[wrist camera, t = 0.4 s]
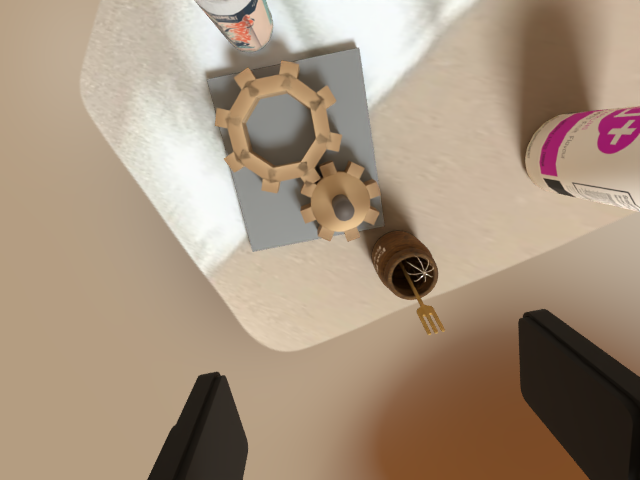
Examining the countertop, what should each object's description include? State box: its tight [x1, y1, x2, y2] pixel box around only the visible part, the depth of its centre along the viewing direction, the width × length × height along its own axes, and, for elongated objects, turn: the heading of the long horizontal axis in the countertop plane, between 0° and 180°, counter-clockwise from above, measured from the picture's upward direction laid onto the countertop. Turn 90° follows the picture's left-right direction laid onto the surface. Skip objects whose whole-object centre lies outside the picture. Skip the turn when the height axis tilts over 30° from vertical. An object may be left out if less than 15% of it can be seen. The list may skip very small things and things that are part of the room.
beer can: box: [195, 0, 273, 52], centre depth 27 cm, size 5×5×12 cm
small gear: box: [300, 160, 381, 241], centre depth 34 cm, size 8×8×6 cm
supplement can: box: [525, 106, 640, 212], centre depth 30 cm, size 8×8×15 cm
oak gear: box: [215, 60, 342, 193], centre depth 34 cm, size 12×12×2 cm
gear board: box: [207, 48, 385, 252], centre depth 36 cm, size 18×15×1 cm
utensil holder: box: [372, 231, 445, 335], centre depth 34 cm, size 6×6×12 cm
